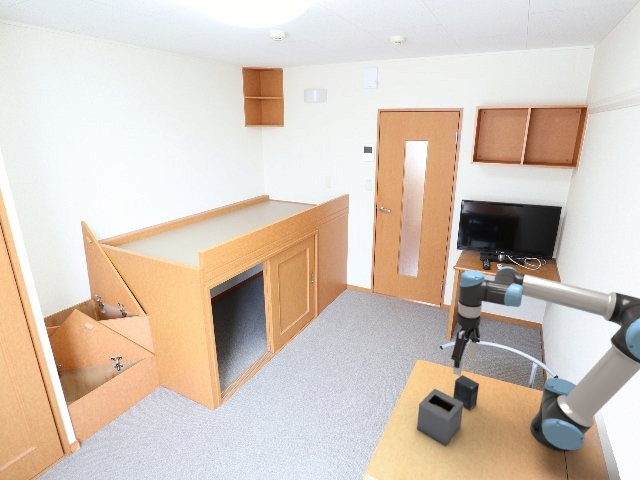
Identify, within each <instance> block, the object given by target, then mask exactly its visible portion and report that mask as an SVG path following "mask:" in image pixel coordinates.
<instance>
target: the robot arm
mask: <svg viewBox="0 0 640 480" xmlns="http://www.w3.org/2000/svg"><path fill="white" fill-rule="evenodd" d="M495 273H496V274H495V275H494V280H489V279H485V274H484V273H482V272H481V271H478V270H465V271H463V272H462V273H461V274H460V282H459V291H458V292H459V293H458V294H459V296H458V302H457V305H458V310H457V318H456V320H457V323H458V324H459V326H460V327H461V328H460V330H459V331H457V332H456V338H455V342H454V346H453V349H452V350H453V351H452V354H451V356H450V357H451V359H450V360H452V361H453V369H452V374H454V375H456V376H458V377H460V376H462V370H463V369H462V368H463V356H464V353H465V349H466V346H467V344H468V353H467V357H469V358H471V359H474V360H475V359H477V350H478V349H477V348H478V343H480V342H481V339H480V338H481V334H480V327H479V326H480V324H481V315H482V306H483V305H482V303H483V302H484V303H491V304H495V305H501V306H506V307H513V308H519V307H520V306H521V305H522V298H523V296H525V297H529V298H532V299H533V298H534V299H536V300H540V301H544V302H547V303H552V304H555V305H559V306H563V307H567V308H571V309H574V310H577V311H581V312H584V313H585V312H586V313H589V314H592V315H597V316H601V317H603V319H604V320H605V321H607V322H612V323H613V324H617V325H618V326H620V327H619V329H618V330H617V331H616V332H615V333H614V334H613V335H612V336H611V337H610V339H609V340H610V344H611V347H609V349H608V350H607V351H606V352H605V354H603V356H602V357H601V358H600V359H599V360H598V361H597V362H596V363H595V364H594V365H593V366H592V367H591V369H590V370H589V371H588V372H587V373H586V375H584V376H583V378H582V379H581V380H580V381H579V382H578V383H577V384H575V383H573V382H572V381H569V380H567V379H563V378H558V377H551V378H548V379H546V381H544V382H545V383H544V385H543V391H542V396H541V399H540V400H541V401H540V405H539V409H538V412H537V413H536V415H535V416H534V417H533V418H532V419H531V422H530V426H529V427H530V428H529V429H530V432H531V434H532V435H533V437H534V439H536V440H537V442H539V443H540V444H542V445H543V446H546V447H548V448H549V449H552V450H555V451H560V452H569V451H575V450H579V449H580V448H582V447H583V446H584V443H585V440H586V439H585V438H586V437H585V434H586V433H587V432H588V431H589V430H591V428H592V427H593V426H594V424H595V421H594V420H595V419H594V417H595V415H596V414H597V413H599V412H600V410H601V409H602V408H603V407H604V406H605V405H606V404H607V403H608V402H609V401H610V400H611V399H612V398H613V397H614V396H615V395H616V394H617V393H618V392H619V391H620V390H622V388H623V387H624V386H625V385H626V384H627V383H629V381H630V380H631V379H632V378H633V377H634V376H635V375H636V374H637V373H638V372H639V371H640V297H636V296H632V295H627V294H623V293H620V292H615V291H611V292H609V293H606V292H603V291H602V292H601V291H598V290H597V291H596V290H593V289H590V288H586V287H581V286H577V285H572V284H568V283H563V282H559V281H556V280H555V281H554V280H552V279H551V280H550V279H548V278H547V279H546V278H542V277H539V276H534V275H530V274H525V273H522V272H518V271H517V270H516V268H514V267H512V266H507V265H506V266H503V267H501V268H498V270H497V272H495Z"/></svg>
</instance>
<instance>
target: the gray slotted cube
mask: <svg viewBox="0 0 640 480" xmlns="http://www.w3.org/2000/svg"><path fill="white" fill-rule="evenodd" d="M434 404H436V405H438V406H439V407H441V408H443V409H445V410H447V411H449V413H448V412H446V411H444V410H442V409H440V408H439V407H437V406H435V405H434ZM463 404H464V403H463V402H461V401H459V400H457V399H455V398H453V396H451V395H448V394H447V393H445V392H444V391H440V390H438V389H437V388H433V389H432V390H431V391H430V393H428V395H427V396H425V397H424V398H423V399H422V400H421V402H420V403H419V405H418V414H417V426H416V430H418V431H419V432H421V433H423V434H424V435H426V436H427V437H429V438H430V439H433V440H434V441H436V442H438V443H439V444H441V445H442V446H444V447H447V446H448V445H449V443H450V442H451V440H453V438H454V437H455V436H456V434H457V433H458V432H459V430H461V426H462V425H461V424H462V417H463V411H464V407H463Z"/></svg>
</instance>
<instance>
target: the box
mask: <svg viewBox="0 0 640 480" xmlns="http://www.w3.org/2000/svg"><path fill="white" fill-rule="evenodd" d="M479 385H480V383H479V382H477V381H475V380H473V379H471V378H469V377H467V376H466V375H463V374H461V376H458V377H457V378H456V379H455V381H454V389H453V396H452V397H453V398H455V399H457V400H459V401H461V402H463V403H464V404H463V408H465V409H467V410H468V411H470V410H472V409H473V408H474V407H475V406H476V405H477V401H478V394H479V387H480V386H479Z"/></svg>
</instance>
